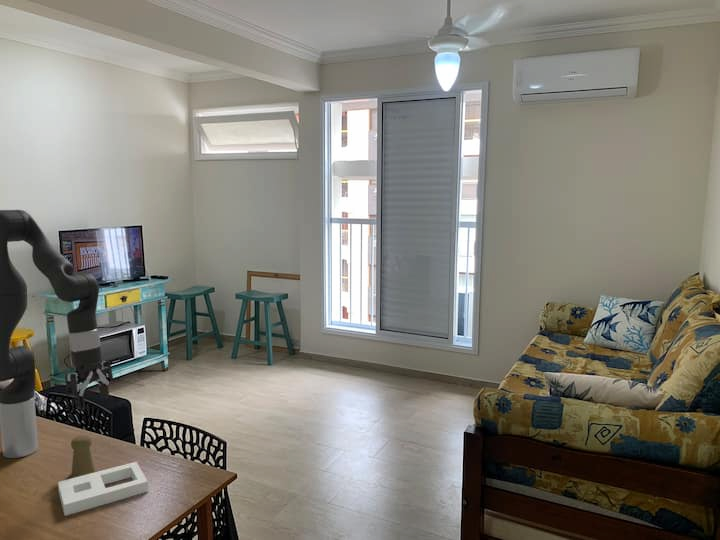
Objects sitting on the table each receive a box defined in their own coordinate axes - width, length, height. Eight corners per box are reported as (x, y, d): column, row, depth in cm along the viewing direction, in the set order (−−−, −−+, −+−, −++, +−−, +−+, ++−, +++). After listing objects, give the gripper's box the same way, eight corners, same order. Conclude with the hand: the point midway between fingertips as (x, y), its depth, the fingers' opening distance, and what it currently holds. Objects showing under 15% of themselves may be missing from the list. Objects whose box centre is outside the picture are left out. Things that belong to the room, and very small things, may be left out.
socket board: (58, 492, 143) (57, 481, 143) (136, 471, 155) (136, 461, 154) (64, 516, 133) (63, 504, 132) (148, 491, 144) (147, 481, 144)
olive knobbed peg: (84, 479, 150) (82, 442, 148) (66, 477, 151) (64, 440, 150) (99, 469, 156) (97, 433, 154) (81, 466, 157) (79, 431, 156)
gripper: (94, 341, 154) (101, 395, 156) (53, 353, 141) (61, 412, 142) (115, 340, 152) (122, 395, 153) (75, 353, 138) (84, 413, 140)
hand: (93, 403), depth 148 cm, fingers open, 8 cm apart
